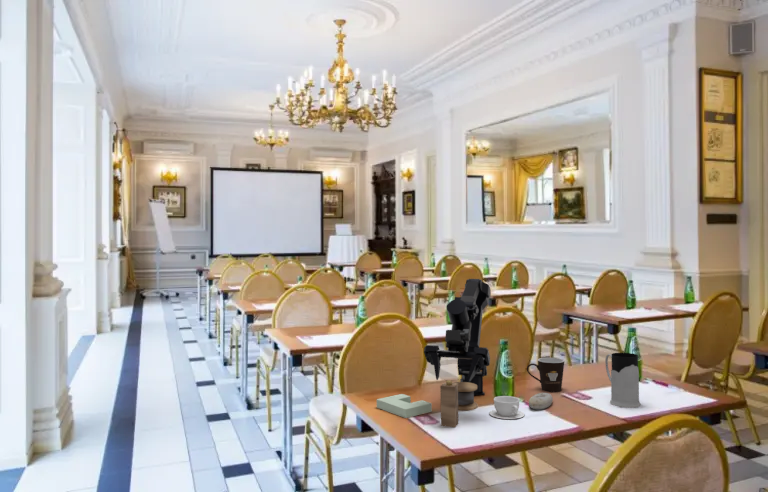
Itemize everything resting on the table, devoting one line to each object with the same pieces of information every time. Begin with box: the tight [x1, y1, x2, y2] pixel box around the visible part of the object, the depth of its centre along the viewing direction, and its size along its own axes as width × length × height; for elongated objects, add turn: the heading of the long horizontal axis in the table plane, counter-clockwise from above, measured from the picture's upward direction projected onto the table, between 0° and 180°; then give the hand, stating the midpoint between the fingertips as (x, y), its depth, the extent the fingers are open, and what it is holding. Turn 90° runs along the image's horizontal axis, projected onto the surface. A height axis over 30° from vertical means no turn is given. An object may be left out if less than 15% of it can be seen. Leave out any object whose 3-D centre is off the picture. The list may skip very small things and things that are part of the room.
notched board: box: [376, 393, 433, 419], centre depth 176 cm, size 10×14×2 cm
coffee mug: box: [526, 357, 565, 393], centre depth 198 cm, size 12×9×10 cm
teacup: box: [488, 395, 525, 420], centre depth 170 cm, size 10×10×5 cm
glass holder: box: [605, 352, 642, 409], centre depth 182 cm, size 9×14×15 cm, turn 12°
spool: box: [453, 381, 478, 412], centre depth 179 cm, size 9×9×6 cm
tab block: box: [439, 379, 459, 428], centre depth 161 cm, size 4×4×12 cm
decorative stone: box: [528, 392, 554, 411], centre depth 179 cm, size 6×16×3 cm, turn 150°
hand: (452, 380), depth 166 cm, fingers open, 9 cm apart
